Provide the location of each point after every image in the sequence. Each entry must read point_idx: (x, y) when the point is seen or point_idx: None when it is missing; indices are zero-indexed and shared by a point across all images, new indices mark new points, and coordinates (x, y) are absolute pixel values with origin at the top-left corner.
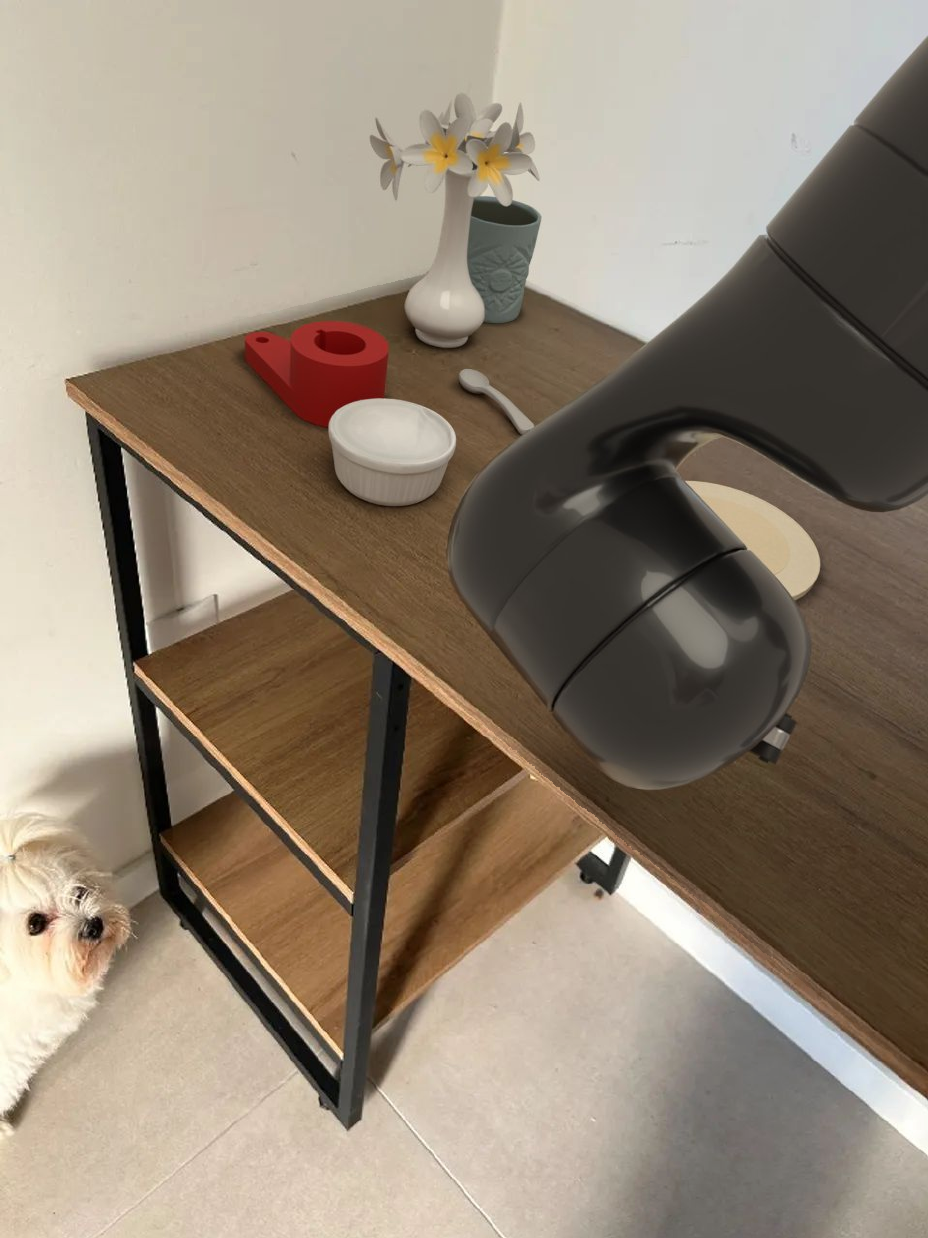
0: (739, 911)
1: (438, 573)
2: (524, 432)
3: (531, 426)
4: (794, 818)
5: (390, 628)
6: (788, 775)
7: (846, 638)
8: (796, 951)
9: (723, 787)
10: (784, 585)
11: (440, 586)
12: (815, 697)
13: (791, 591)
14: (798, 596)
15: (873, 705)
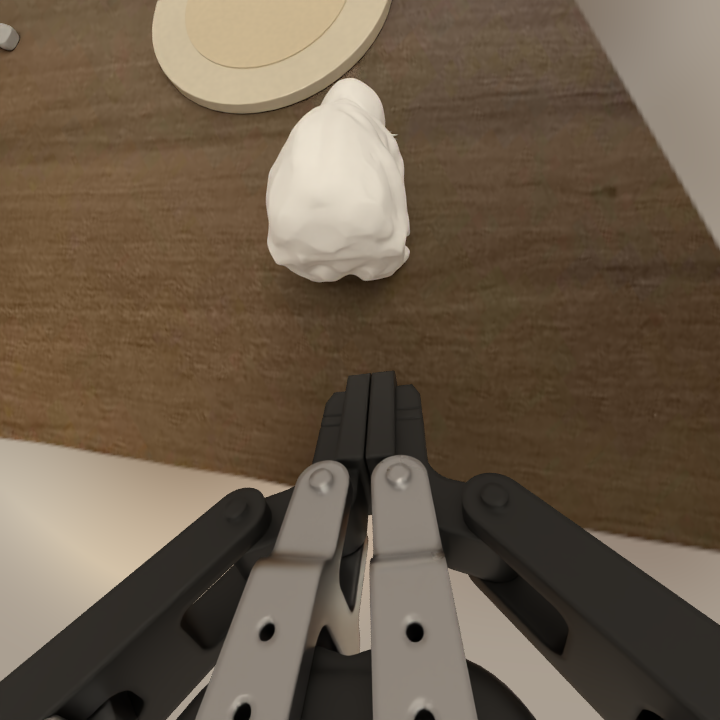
0: (592, 525)
1: (42, 316)
2: (9, 44)
3: (8, 30)
4: (568, 332)
5: (41, 435)
6: (526, 274)
7: (469, 15)
8: (685, 532)
9: (471, 355)
10: (366, 2)
11: (53, 332)
12: (487, 132)
13: (378, 4)
14: (388, 4)
15: (552, 86)
